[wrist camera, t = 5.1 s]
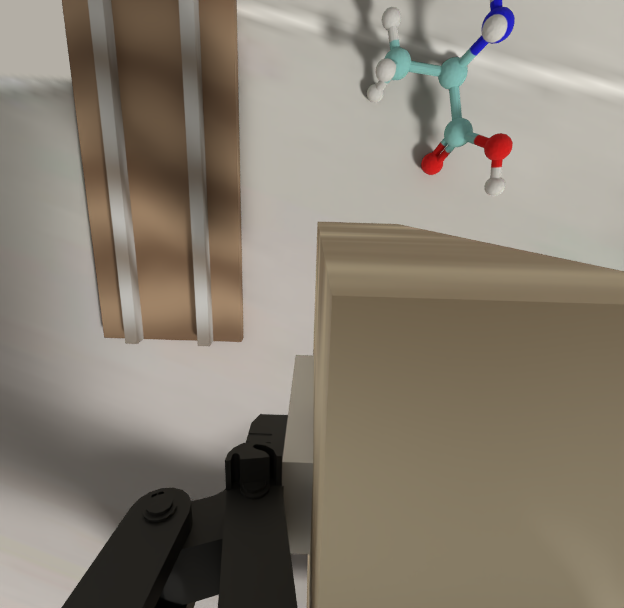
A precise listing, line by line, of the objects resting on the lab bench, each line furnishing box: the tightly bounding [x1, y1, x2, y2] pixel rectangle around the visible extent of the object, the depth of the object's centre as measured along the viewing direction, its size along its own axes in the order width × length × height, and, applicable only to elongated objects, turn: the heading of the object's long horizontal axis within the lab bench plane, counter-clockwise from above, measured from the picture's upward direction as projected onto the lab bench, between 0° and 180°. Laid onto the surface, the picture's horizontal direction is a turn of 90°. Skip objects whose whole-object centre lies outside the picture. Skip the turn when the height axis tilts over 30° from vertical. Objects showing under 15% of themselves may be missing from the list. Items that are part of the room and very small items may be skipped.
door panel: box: [307, 222, 624, 608], centre depth 11 cm, size 13×4×14 cm, turn 178°
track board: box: [62, 0, 243, 346], centre depth 29 cm, size 26×12×2 cm, turn 178°
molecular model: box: [367, 0, 514, 196], centre depth 25 cm, size 12×10×10 cm
